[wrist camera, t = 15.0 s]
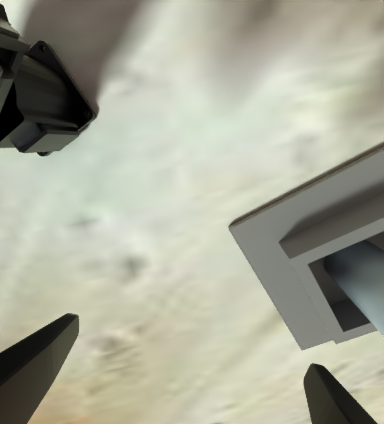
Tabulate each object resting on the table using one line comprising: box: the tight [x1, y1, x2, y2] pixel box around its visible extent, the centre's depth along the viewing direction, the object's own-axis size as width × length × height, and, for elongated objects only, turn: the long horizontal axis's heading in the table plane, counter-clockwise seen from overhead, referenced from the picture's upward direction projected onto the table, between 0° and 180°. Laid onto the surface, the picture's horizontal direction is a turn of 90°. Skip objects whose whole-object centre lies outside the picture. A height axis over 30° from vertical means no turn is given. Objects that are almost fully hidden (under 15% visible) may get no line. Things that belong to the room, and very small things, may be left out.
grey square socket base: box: [229, 146, 384, 350], centre depth 19 cm, size 16×16×4 cm
